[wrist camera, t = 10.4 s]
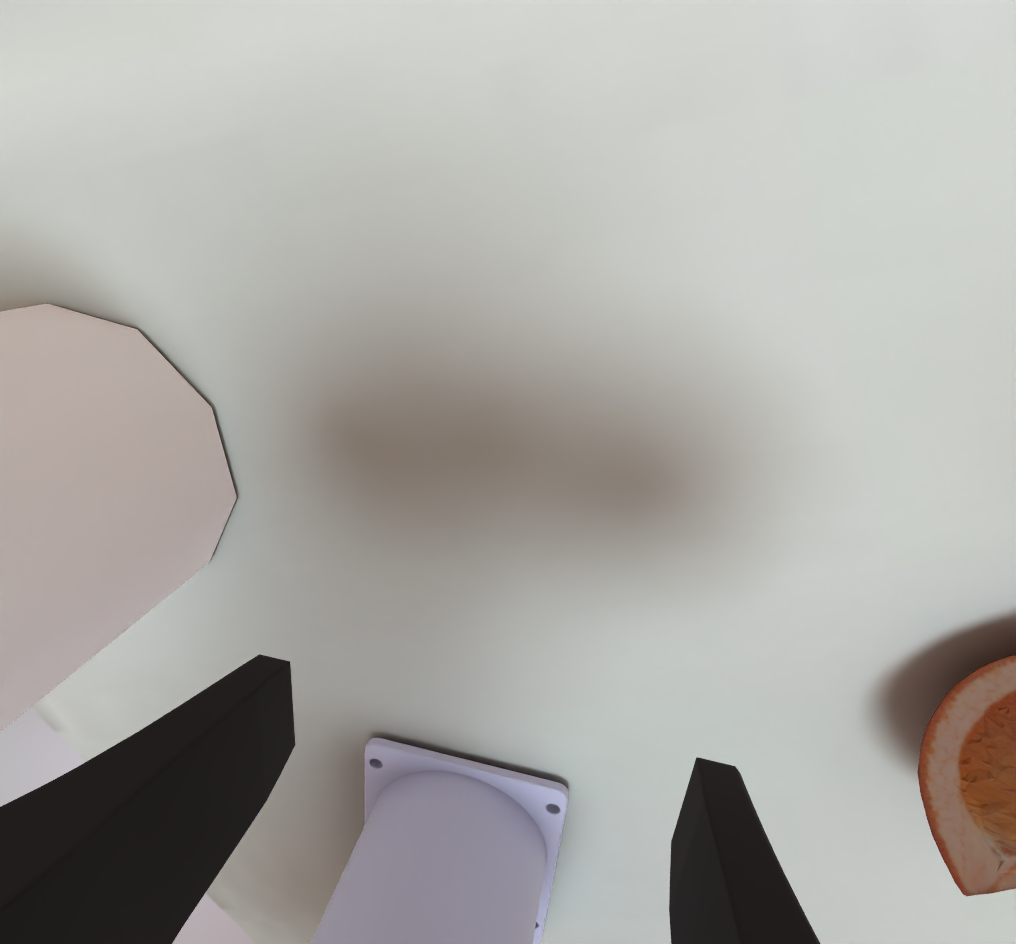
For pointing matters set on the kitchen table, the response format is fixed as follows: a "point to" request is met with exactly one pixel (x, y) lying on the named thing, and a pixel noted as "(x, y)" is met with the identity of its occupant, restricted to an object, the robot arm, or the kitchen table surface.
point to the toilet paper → (94, 491)
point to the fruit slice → (974, 779)
